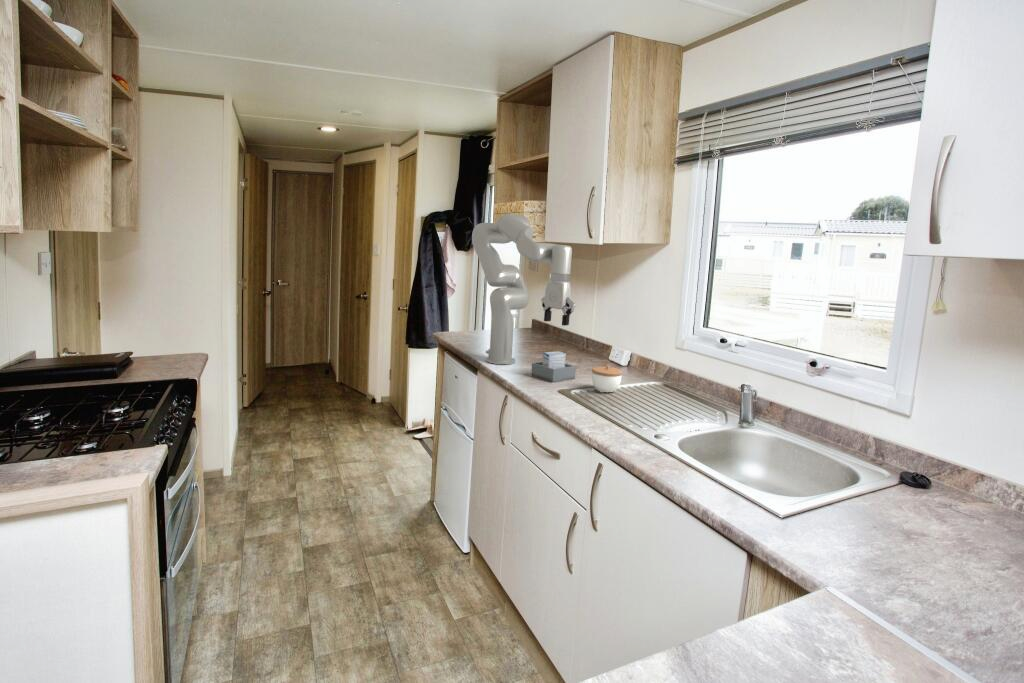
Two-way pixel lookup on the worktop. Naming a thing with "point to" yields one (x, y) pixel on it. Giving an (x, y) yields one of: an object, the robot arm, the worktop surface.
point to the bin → (553, 372)
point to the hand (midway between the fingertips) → (556, 323)
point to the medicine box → (554, 359)
